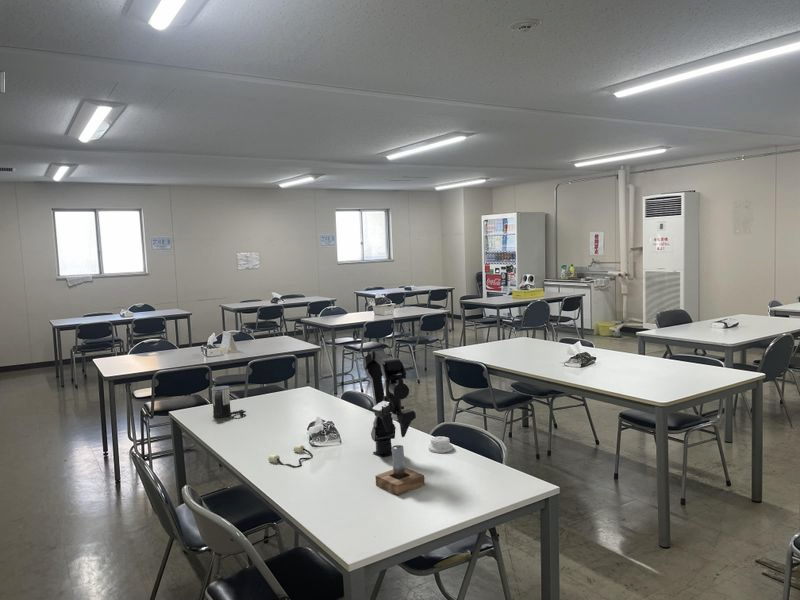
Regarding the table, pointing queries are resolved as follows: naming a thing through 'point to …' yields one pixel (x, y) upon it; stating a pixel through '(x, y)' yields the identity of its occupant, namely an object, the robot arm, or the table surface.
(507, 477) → the table surface
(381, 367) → the robot arm
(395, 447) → the steel pin
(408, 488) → the walnut bore block
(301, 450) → the cable
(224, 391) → the milk frother
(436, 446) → the mechanical component
